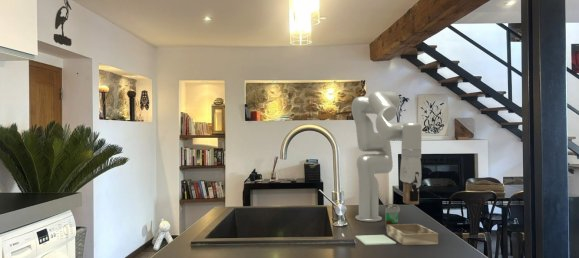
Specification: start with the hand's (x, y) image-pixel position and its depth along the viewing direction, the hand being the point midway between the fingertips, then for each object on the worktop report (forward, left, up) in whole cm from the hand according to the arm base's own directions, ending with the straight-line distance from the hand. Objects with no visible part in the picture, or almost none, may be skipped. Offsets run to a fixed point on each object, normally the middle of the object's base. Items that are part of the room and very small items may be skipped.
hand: (410, 199), depth 160 cm
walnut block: (0, 0, -1) cm, 1 cm away
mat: (0, -15, -16) cm, 22 cm away
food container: (-18, 0, -16) cm, 24 cm away
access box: (0, 0, -16) cm, 16 cm away
